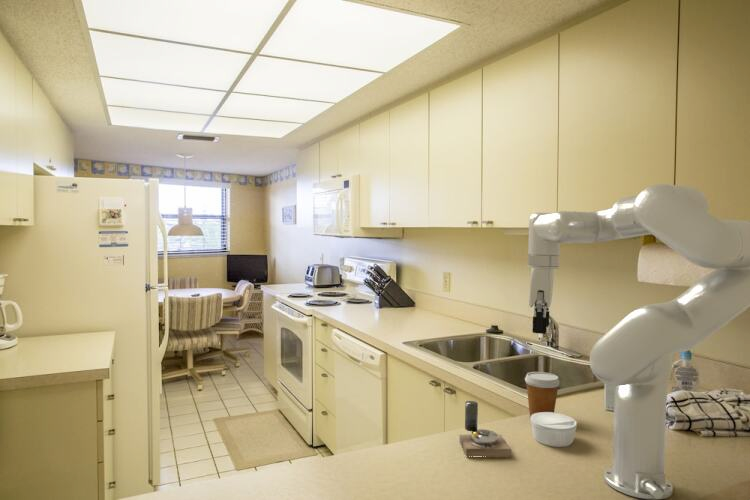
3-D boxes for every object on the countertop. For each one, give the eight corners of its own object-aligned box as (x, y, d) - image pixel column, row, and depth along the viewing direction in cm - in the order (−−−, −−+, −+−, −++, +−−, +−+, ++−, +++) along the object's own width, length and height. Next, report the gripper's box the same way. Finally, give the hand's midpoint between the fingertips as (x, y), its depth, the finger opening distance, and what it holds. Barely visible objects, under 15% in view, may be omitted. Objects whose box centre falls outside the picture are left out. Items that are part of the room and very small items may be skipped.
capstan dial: (484, 448, 115) (484, 414, 115) (455, 437, 122) (456, 404, 122) (502, 440, 120) (502, 407, 120) (473, 429, 126) (474, 398, 126)
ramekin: (566, 453, 119) (566, 431, 119) (522, 440, 126) (522, 419, 126) (583, 439, 127) (583, 419, 127) (541, 428, 135) (541, 408, 134)
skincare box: (626, 413, 146) (627, 363, 146) (603, 410, 149) (604, 360, 148) (625, 404, 154) (626, 356, 153) (604, 401, 156) (605, 354, 156)
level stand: (510, 457, 116) (510, 446, 116) (466, 457, 116) (466, 446, 116) (500, 442, 125) (501, 432, 125) (459, 442, 124) (459, 432, 124)
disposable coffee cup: (548, 426, 135) (549, 382, 135) (517, 416, 143) (518, 375, 142) (565, 418, 142) (566, 376, 141) (535, 409, 149) (536, 369, 148)
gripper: (531, 259, 135) (528, 322, 136) (524, 263, 119) (521, 334, 120) (560, 260, 132) (558, 325, 133) (557, 264, 116) (554, 337, 117)
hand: (540, 329), depth 126 cm, fingers open, 9 cm apart
